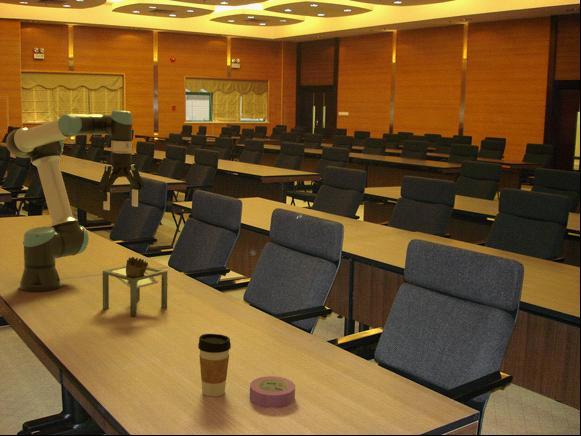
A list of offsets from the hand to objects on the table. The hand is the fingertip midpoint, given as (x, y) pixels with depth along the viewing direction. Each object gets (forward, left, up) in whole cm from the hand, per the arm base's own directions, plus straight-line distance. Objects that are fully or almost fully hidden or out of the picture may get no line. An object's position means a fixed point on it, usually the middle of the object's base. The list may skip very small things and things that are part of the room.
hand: (121, 208), depth 258 cm
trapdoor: (+17, -8, -23) cm, 30 cm away
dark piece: (+20, -12, -23) cm, 33 cm away
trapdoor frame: (+17, -8, -34) cm, 39 cm away
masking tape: (+102, -37, -35) cm, 114 cm away
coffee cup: (+88, -44, -34) cm, 104 cm away
